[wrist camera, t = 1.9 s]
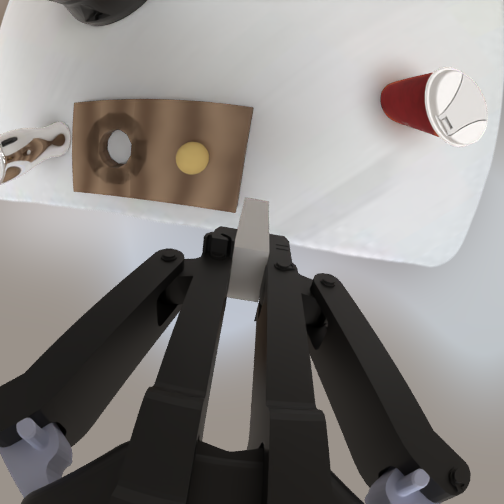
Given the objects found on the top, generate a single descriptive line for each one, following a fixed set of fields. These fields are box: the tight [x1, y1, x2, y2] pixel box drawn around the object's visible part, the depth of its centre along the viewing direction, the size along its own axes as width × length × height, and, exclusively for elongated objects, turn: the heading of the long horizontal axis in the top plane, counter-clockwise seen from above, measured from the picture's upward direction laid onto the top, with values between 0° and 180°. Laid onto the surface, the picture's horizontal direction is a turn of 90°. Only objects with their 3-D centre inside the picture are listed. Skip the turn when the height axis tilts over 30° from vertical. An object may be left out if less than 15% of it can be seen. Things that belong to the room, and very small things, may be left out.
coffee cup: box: [381, 67, 488, 147], centre depth 23 cm, size 8×8×15 cm
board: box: [72, 99, 253, 213], centre depth 33 cm, size 26×14×2 cm, turn 81°
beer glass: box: [0, 122, 71, 185], centre depth 27 cm, size 7×7×15 cm
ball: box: [176, 142, 209, 174], centre depth 31 cm, size 4×4×4 cm
